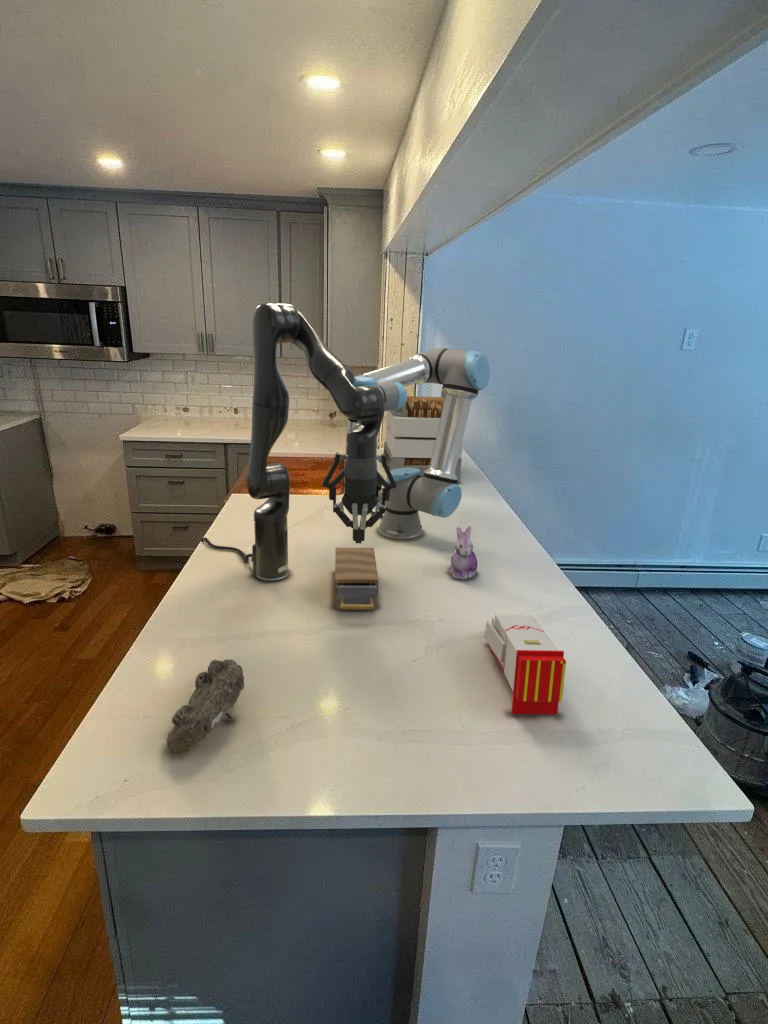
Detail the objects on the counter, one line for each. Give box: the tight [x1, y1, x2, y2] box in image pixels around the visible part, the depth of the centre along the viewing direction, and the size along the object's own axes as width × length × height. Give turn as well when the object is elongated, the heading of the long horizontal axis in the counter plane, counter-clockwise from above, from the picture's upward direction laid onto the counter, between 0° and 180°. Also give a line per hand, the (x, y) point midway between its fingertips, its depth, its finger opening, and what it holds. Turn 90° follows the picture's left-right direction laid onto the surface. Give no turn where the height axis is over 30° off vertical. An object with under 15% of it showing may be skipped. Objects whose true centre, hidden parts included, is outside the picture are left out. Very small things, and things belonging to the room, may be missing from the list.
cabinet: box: [334, 547, 379, 609], centre depth 158 cm, size 21×11×8 cm, turn 4°
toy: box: [484, 614, 567, 716], centre depth 124 cm, size 12×13×30 cm
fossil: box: [166, 658, 245, 754], centre depth 106 cm, size 22×10×15 cm
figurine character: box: [376, 479, 383, 500], centre depth 234 cm, size 7×8×15 cm
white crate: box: [383, 386, 464, 484], centre depth 268 cm, size 34×33×41 cm
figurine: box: [449, 525, 479, 580], centre depth 169 cm, size 9×10×15 cm
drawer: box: [336, 583, 377, 611], centre depth 153 cm, size 25×10×6 cm, turn 4°
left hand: (358, 542), depth 138 cm, fingers closed
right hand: (358, 511), depth 159 cm, fingers open, 13 cm apart
